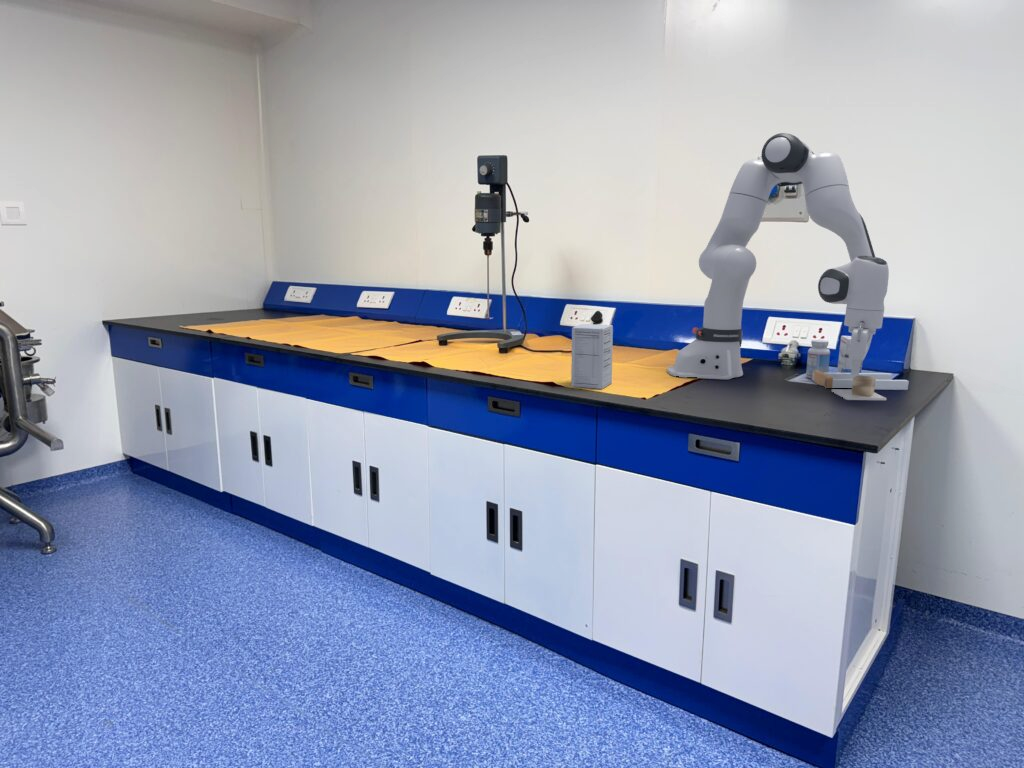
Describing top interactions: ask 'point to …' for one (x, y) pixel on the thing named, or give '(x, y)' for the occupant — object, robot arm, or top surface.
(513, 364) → the top surface
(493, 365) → the top surface
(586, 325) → the supplement box
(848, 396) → the tile
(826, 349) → the pill bottle
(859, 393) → the cube
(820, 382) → the channel
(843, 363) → the ink box
